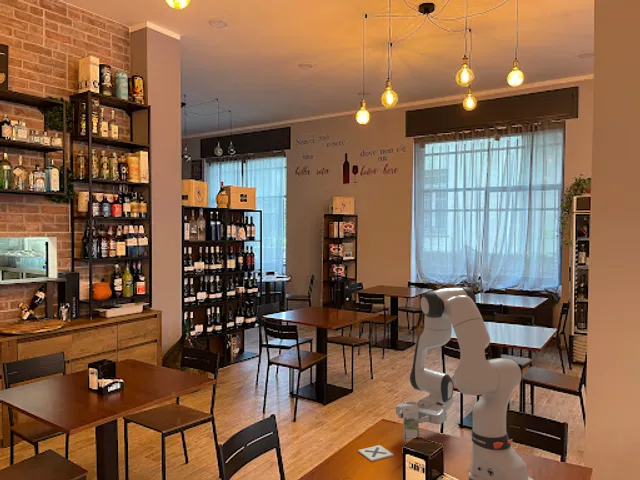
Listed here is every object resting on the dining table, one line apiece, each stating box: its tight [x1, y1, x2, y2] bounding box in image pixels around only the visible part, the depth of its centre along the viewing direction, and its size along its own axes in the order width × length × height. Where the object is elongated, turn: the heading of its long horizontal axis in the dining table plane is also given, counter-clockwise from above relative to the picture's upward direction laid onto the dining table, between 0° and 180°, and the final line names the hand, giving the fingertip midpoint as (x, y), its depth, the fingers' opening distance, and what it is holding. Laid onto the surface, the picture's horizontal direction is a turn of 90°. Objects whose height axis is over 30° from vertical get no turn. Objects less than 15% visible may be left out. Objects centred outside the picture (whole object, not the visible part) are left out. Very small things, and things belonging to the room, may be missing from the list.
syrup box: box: [402, 401, 420, 444], centre depth 193 cm, size 6×6×14 cm
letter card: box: [357, 444, 395, 463], centre depth 189 cm, size 10×10×1 cm
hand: (409, 418), depth 192 cm, fingers closed on syrup box, 8 cm apart
